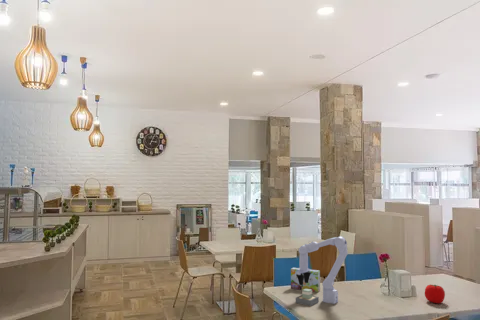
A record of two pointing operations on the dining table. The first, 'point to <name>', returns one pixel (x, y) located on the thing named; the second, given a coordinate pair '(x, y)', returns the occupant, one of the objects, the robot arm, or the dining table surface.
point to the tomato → (434, 293)
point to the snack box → (312, 282)
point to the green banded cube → (307, 293)
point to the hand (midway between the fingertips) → (303, 283)
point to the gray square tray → (307, 301)
